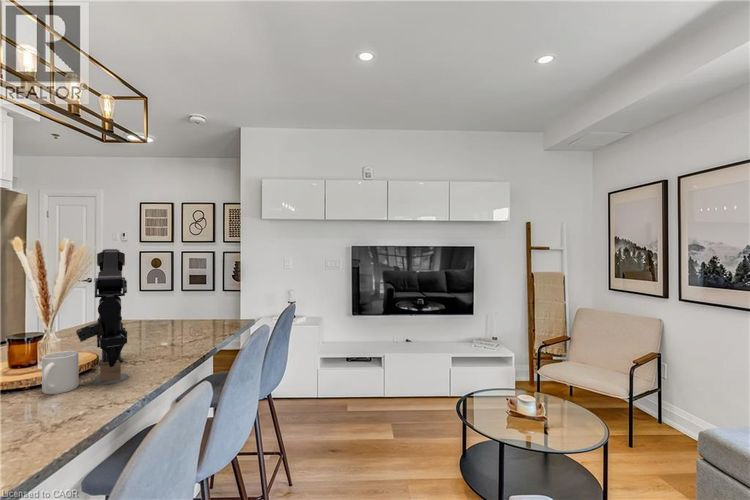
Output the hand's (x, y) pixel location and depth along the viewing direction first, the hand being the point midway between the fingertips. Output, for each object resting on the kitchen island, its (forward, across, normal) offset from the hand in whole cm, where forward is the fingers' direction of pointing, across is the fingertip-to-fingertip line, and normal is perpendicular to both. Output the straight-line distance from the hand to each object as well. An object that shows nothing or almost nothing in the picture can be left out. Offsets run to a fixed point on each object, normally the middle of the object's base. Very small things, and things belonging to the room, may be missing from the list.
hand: (110, 363), depth 121 cm
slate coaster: (+5, 0, 0) cm, 5 cm away
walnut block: (+5, 0, 0) cm, 5 cm away
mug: (+5, +3, -13) cm, 14 cm away
